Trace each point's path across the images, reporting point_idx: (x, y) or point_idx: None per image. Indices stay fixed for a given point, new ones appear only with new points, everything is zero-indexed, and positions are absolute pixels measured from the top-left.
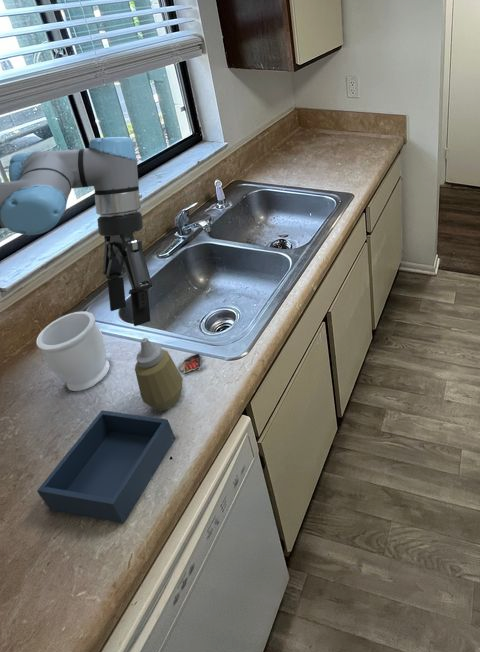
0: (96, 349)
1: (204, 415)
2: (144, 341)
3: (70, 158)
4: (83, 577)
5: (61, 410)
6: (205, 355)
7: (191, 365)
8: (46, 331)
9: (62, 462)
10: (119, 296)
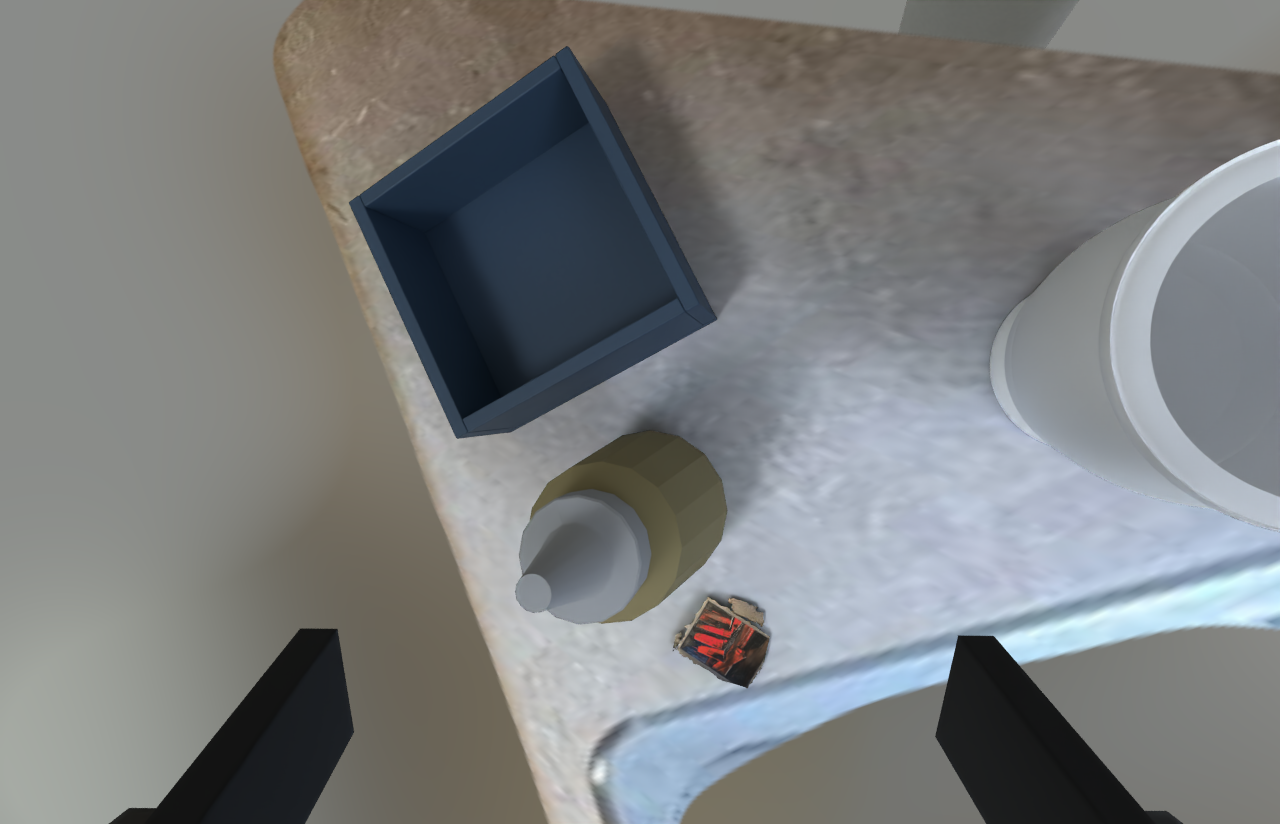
0: (1050, 422)
1: (505, 529)
2: (523, 589)
3: None
4: (386, 126)
5: (979, 225)
6: (722, 695)
7: (716, 634)
8: None
9: (597, 131)
10: (1020, 815)
